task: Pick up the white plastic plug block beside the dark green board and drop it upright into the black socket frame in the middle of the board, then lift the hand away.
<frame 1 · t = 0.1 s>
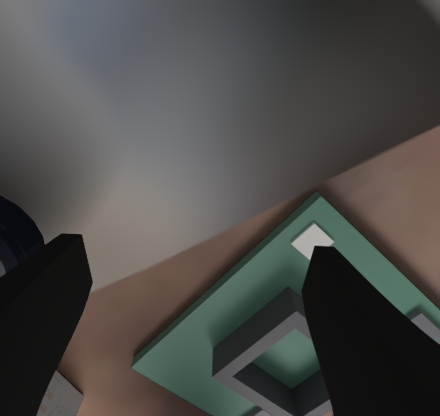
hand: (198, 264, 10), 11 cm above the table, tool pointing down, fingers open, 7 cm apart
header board: (287, 338, 25), on the table
small box: (33, 376, 27), on the table
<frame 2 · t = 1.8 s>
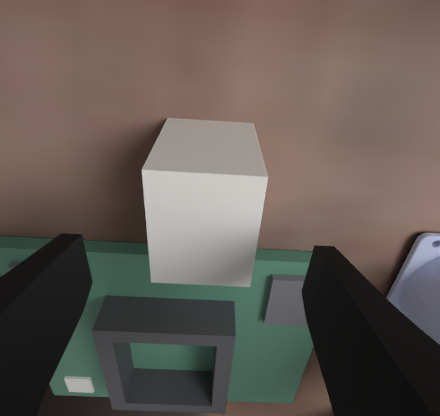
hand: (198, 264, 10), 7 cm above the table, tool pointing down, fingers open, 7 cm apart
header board: (174, 329, 23), on the table
plug block: (208, 169, 16), on the table
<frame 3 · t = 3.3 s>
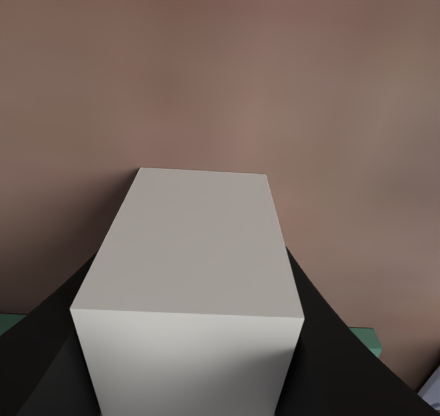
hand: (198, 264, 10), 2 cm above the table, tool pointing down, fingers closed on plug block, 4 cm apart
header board: (161, 407, 18), on the table
plug block: (201, 232, 11), on the table, touching gripper
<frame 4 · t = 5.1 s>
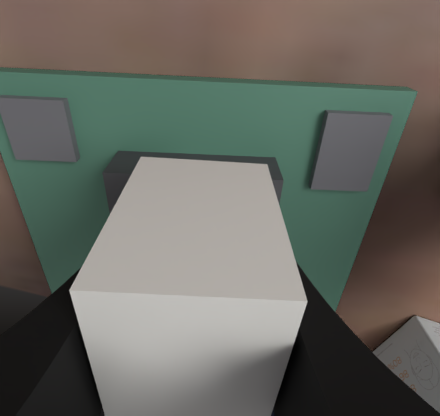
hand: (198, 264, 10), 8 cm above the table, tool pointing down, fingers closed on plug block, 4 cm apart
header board: (197, 215, 19), on the table
small box: (406, 346, 27), on the table
plug block: (201, 224, 11), point 7 cm above the table, touching gripper
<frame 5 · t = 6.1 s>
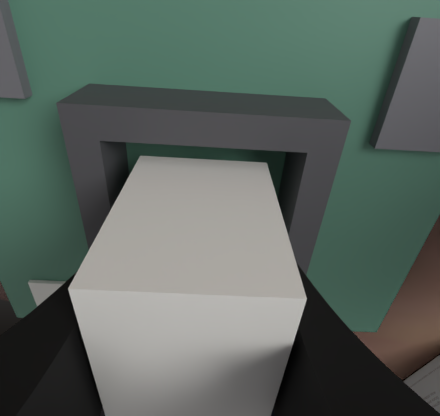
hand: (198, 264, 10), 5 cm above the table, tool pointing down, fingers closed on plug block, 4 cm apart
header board: (205, 191, 14), on the table
plug block: (201, 223, 11), point 3 cm above the table, touching gripper
when the fingers open (4 cm above the table, at t = 6.9 s): plug block drops 2 cm, resting on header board.
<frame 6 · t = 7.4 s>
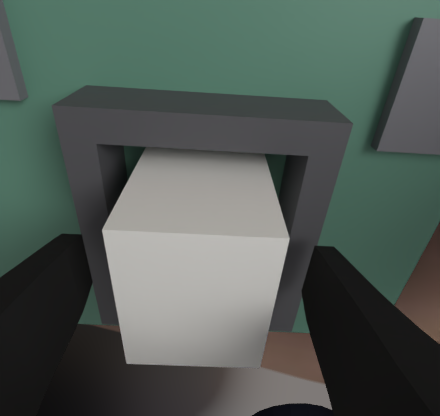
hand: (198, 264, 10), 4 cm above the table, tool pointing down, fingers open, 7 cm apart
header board: (204, 194, 14), on the table
plug block: (204, 199, 13), point 1 cm above the table, touching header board
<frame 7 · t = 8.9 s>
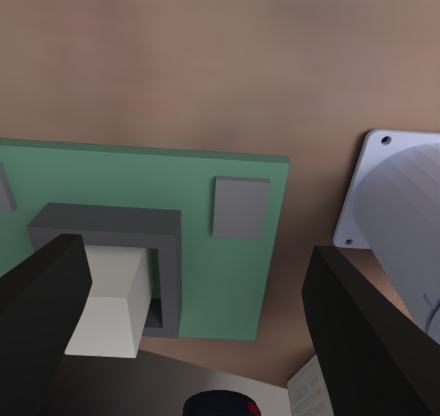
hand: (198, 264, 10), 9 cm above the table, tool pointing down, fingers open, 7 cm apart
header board: (127, 252, 22), on the table
small box: (331, 365, 30), on the table
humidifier: (220, 407, 34), on the table
plug block: (122, 258, 21), point 1 cm above the table, touching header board
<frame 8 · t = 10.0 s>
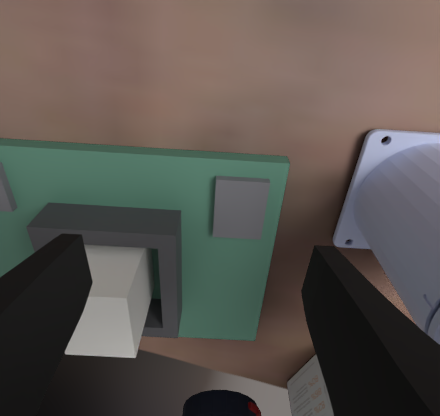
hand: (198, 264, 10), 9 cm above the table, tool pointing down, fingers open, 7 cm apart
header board: (127, 252, 22), on the table
small box: (331, 365, 30), on the table
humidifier: (220, 407, 34), on the table
plug block: (122, 258, 21), point 1 cm above the table, touching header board
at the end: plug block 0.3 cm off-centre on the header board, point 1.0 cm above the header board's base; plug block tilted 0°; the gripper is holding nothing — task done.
